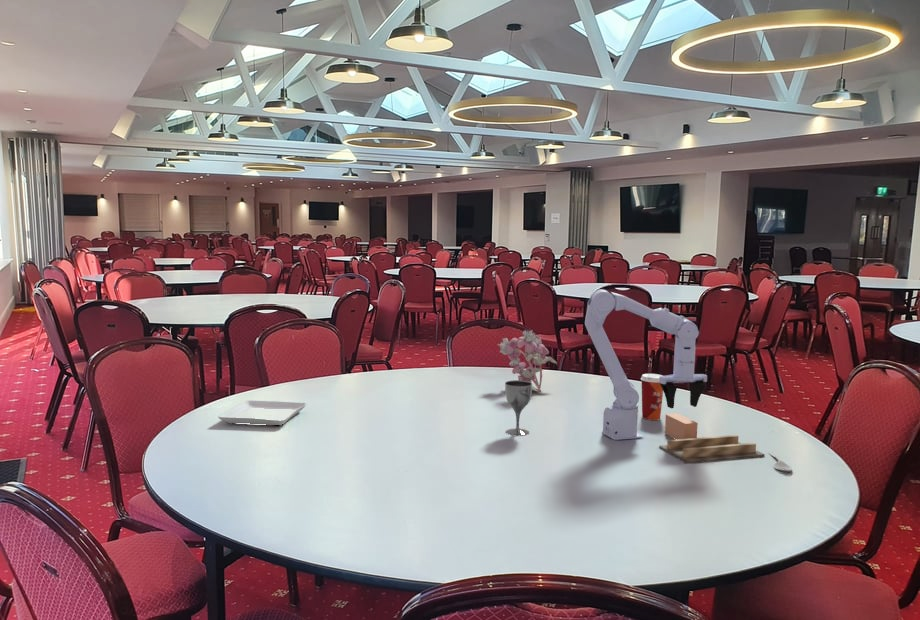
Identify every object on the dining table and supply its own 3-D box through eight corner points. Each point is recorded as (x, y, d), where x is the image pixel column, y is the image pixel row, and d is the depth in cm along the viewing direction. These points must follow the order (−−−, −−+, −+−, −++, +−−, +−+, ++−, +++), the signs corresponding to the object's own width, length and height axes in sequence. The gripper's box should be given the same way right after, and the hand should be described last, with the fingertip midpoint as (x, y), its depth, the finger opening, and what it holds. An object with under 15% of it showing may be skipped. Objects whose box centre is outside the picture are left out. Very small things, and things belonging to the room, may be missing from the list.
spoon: (776, 475, 163) (777, 468, 163) (761, 449, 183) (761, 443, 183) (794, 476, 162) (795, 470, 162) (777, 450, 182) (777, 444, 182)
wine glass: (499, 433, 193) (500, 384, 192) (510, 426, 200) (511, 379, 199) (524, 437, 190) (525, 387, 188) (534, 430, 197) (535, 382, 195)
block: (696, 443, 187) (697, 422, 186) (684, 444, 186) (685, 423, 185) (676, 432, 196) (677, 413, 196) (664, 433, 195) (665, 414, 195)
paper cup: (658, 422, 207) (660, 379, 205) (635, 418, 211) (637, 376, 210) (667, 417, 213) (669, 375, 211) (644, 413, 217) (646, 372, 216)
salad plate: (307, 411, 217) (307, 401, 216) (284, 430, 196) (284, 419, 195) (246, 409, 219) (246, 399, 218) (217, 427, 198) (216, 416, 197)
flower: (575, 384, 252) (553, 324, 257) (551, 389, 233) (528, 324, 238) (531, 399, 262) (511, 341, 267) (505, 406, 243) (484, 343, 248)
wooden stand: (686, 463, 170) (687, 453, 169) (659, 447, 182) (659, 437, 182) (764, 456, 176) (765, 446, 175) (732, 441, 188) (733, 432, 188)
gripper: (669, 364, 183) (667, 411, 184) (714, 362, 186) (712, 408, 188) (656, 360, 189) (654, 405, 191) (699, 358, 193) (697, 402, 195)
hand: (681, 406), depth 190 cm, fingers open, 7 cm apart
